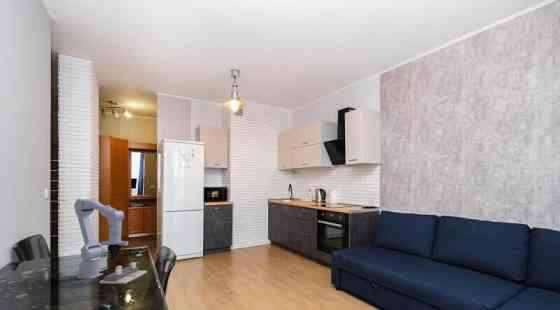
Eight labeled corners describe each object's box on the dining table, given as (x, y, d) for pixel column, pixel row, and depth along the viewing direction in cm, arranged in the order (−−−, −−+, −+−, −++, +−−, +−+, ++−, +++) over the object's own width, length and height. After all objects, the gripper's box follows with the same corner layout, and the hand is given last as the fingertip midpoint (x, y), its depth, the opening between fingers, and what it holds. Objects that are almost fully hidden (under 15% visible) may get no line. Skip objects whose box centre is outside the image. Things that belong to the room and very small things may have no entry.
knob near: (115, 275, 144) (115, 270, 144) (118, 273, 147) (118, 268, 147) (117, 275, 144) (118, 270, 144) (121, 273, 147) (121, 268, 147)
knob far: (129, 268, 156) (130, 264, 156) (133, 267, 159) (133, 262, 159) (132, 268, 156) (132, 264, 156) (135, 267, 158) (135, 262, 159)
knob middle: (115, 271, 150) (115, 267, 151) (119, 270, 153) (119, 265, 154) (118, 271, 150) (118, 267, 151) (121, 270, 153) (122, 265, 153)
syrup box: (99, 271, 163) (101, 246, 165) (91, 271, 164) (92, 246, 166) (107, 269, 169) (108, 244, 171) (99, 268, 170) (100, 244, 172)
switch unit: (99, 283, 142) (99, 277, 143) (124, 272, 161) (124, 266, 161) (124, 283, 141) (125, 277, 141) (146, 272, 160) (147, 266, 160)
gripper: (97, 234, 148) (95, 260, 147) (122, 234, 147) (121, 261, 145) (107, 232, 155) (105, 257, 154) (131, 232, 154) (130, 257, 152)
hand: (113, 259), depth 150 cm, fingers closed
